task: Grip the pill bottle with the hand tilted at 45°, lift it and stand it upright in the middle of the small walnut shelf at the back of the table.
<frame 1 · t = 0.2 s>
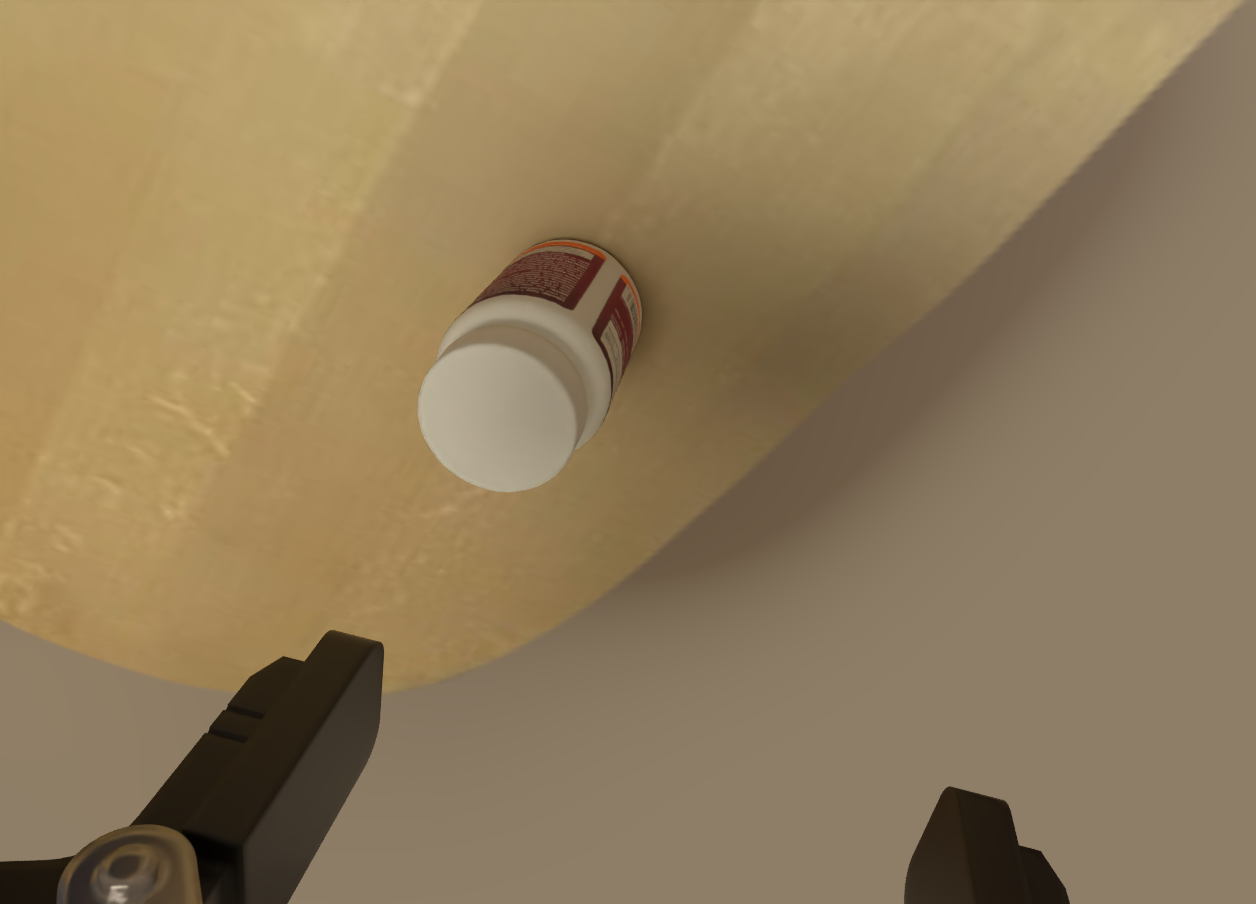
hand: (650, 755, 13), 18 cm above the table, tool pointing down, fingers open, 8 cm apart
pill bottle: (572, 309, 30), on the table
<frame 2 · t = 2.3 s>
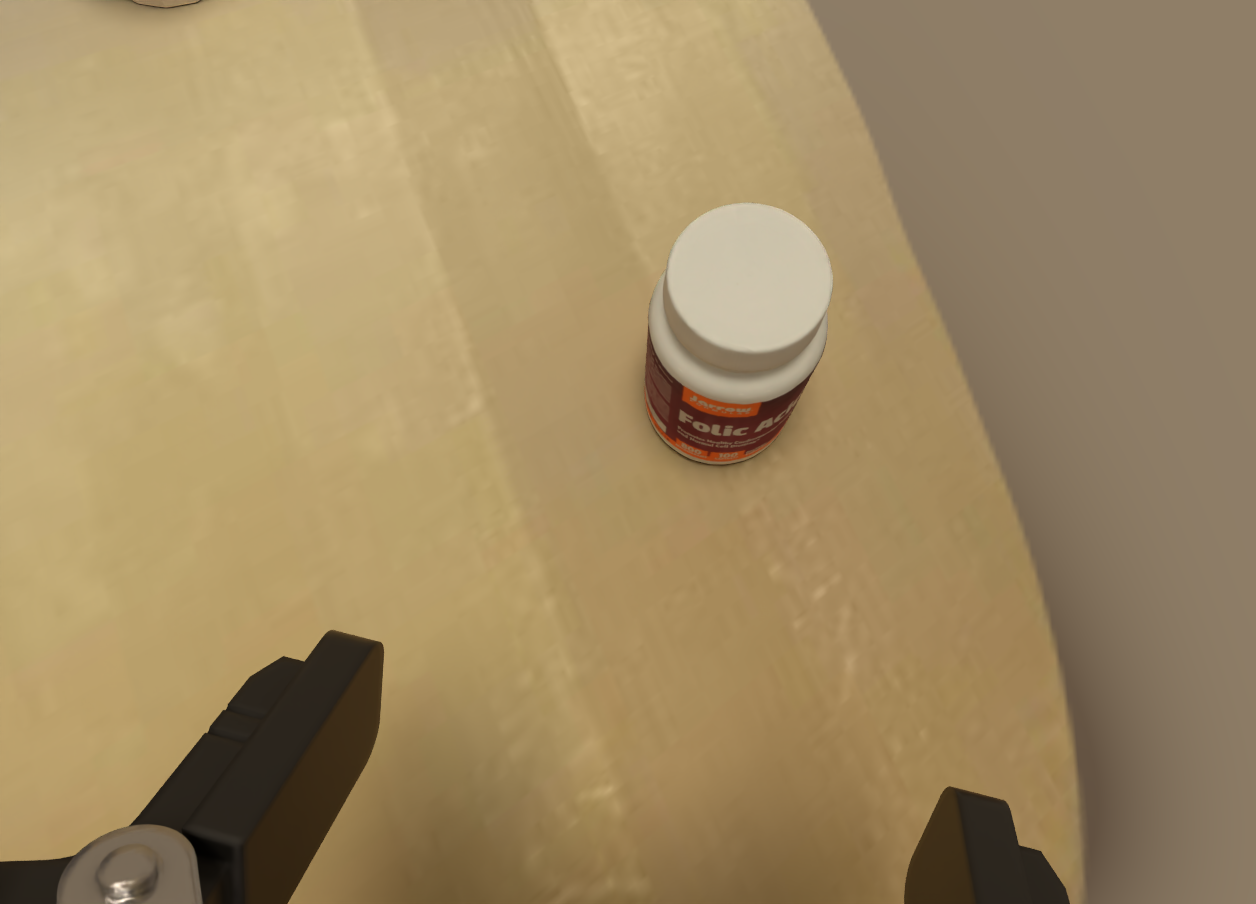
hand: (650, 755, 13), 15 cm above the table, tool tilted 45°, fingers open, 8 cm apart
pill bottle: (717, 399, 31), on the table
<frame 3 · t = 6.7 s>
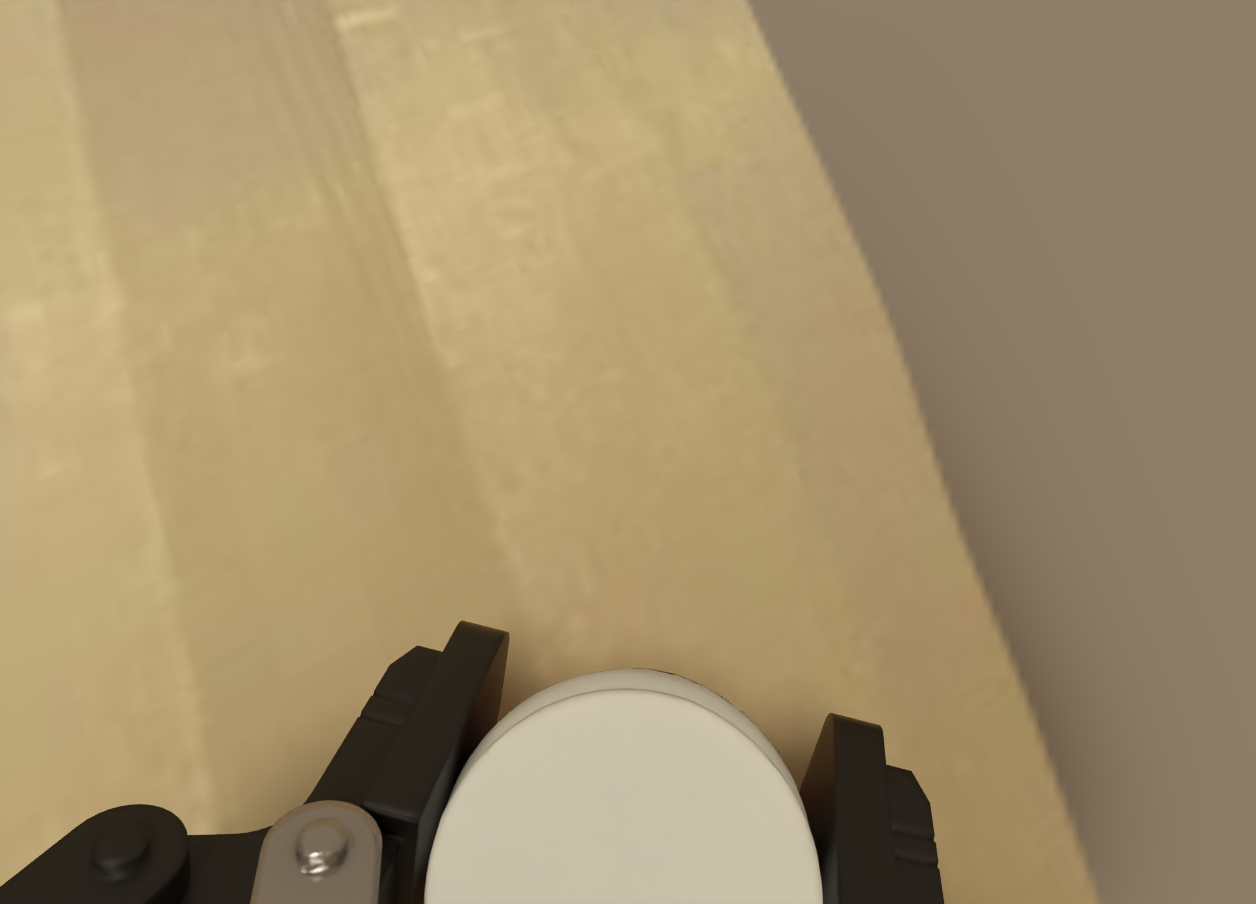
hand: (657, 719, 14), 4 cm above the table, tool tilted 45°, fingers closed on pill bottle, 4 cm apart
pill bottle: (627, 827, 17), on the table, touching gripper
when the fingers open (8 cm above the table, at t = 16.1 s): pill bottle stays where it is, resting on shelf.
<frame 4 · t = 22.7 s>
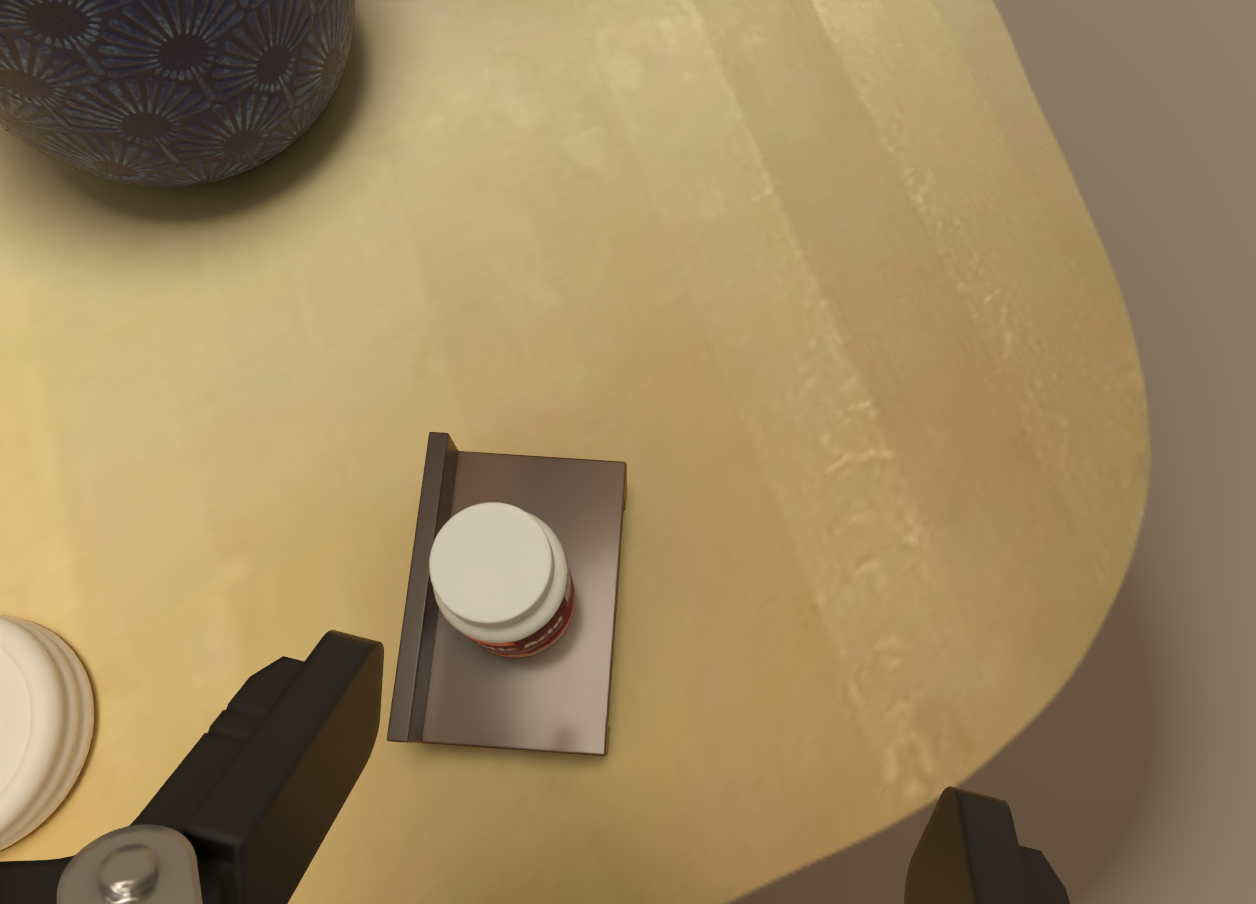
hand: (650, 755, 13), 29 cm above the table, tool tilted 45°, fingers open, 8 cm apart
pill bottle: (519, 600, 39), point 4 cm above the table, touching shelf
shelf: (528, 608, 42), on the table
planter: (211, 83, 51), on the table
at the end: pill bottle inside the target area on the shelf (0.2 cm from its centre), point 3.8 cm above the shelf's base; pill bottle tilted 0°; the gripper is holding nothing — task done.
